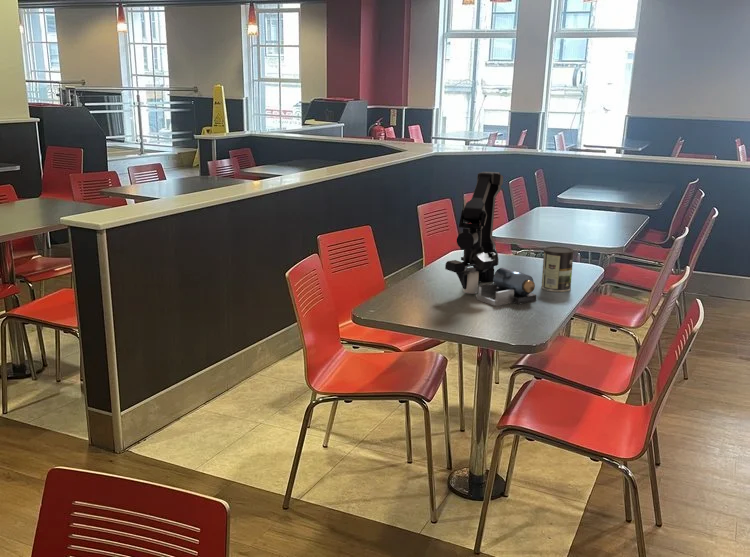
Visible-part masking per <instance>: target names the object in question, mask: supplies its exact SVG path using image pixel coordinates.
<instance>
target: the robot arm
mask: <svg viewBox="0 0 750 557" xmlns="http://www.w3.org/2000/svg"><path fill="white" fill-rule="evenodd" d="M476 179H477V180H476V185H475V188H474V190H473V193H472V194H473V195H472V196H471V199H470V200H468V201H467V202H466V203H465V205H464V208H462V210H461V213H460V219H459V224H458V228H459V229H460V228H462V232H460V233H459V234H458V235H457V238H456V244H457V246H458V247H459V248H460V249H462V250H463V256H462V257H460V261H459V260H457V259H453V260H452V259H451V260H447V261H446V262H445V268H444V269H445V271H446V270H447V271H450V272H452V273H455V274H456V275H457V277H458V279H459V282H460V284H461V286H462V289H466V287H467V275H468V274H469V272H470V271H467V268H470V267H473V268H476V271H479V278H478V287H479V286H480V283H489V282H492V281H493V278H494V274H495V267H497V266H498V265H499V259H500V258H499V253H498V250H497V249H496V246H497V245H496V242H495V241H494V238H493V232H494V231H493V230H494V221H495V220H494V219H495V207H496V198H497V196H498V195H499V193H500V191H501V190H502V189H501V188H502V186H503V184H504V176H503V175H502V174H501V172H496V171H481V172H478V173H477V176H476Z"/></svg>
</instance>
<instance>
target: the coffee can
mask: <svg viewBox="0 0 750 557" xmlns="http://www.w3.org/2000/svg"><path fill="white" fill-rule="evenodd" d="M574 253H575V250H574V249H572V248H570V247H565V246H546V247H544V248H543V257H542V258H543V260H542V276H541V289H542V290H544V291H548V292H553V293H564V292H565V293H566V292H569V291H571V289H572V288H571V287H572V276H573V274H572V273H573V262H574Z"/></svg>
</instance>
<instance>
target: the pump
mask: <svg viewBox="0 0 750 557" xmlns="http://www.w3.org/2000/svg"><path fill="white" fill-rule="evenodd" d="M467 271H470V272H469V274H468V275H467V287H466V289H463V288H462V289H463V290H462V291H463V292H464V293H465V294H477V293H479V286H478V278H479V271H476V268H473V266H470V267H467Z"/></svg>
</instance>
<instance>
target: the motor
mask: <svg viewBox="0 0 750 557" xmlns="http://www.w3.org/2000/svg"><path fill="white" fill-rule="evenodd" d="M534 281H535V280H534V278H533V276H531V275H529V274H525V273H522V272H520V271H519V272H518V271H515V270H513V269H509V268H505V267H499V268H498V269H496V271H494V278H493V283H489V284H484V285H479V286H478V294H477V293H476V295H475V299H476V300H478V301H480V302H483V303H486V304H488V305H491V306H493V307H499V306H504V305H509V304H512V302H515V303H514V304H516V303H517V304H516V305H521V304H520V303H522V304H526V303H530V302H535V300H536V301H537V294H534V293H532V292H534V290H535V288H536V284H535V282H534ZM493 298H494V299H493ZM508 303H509V304H508Z"/></svg>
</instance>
